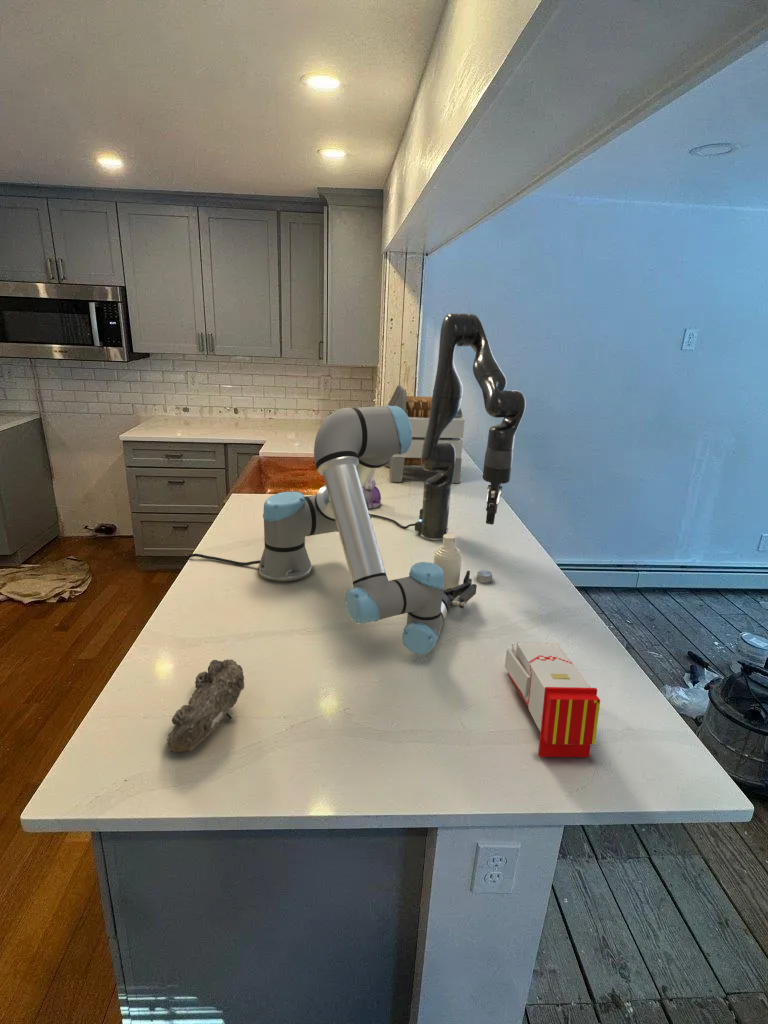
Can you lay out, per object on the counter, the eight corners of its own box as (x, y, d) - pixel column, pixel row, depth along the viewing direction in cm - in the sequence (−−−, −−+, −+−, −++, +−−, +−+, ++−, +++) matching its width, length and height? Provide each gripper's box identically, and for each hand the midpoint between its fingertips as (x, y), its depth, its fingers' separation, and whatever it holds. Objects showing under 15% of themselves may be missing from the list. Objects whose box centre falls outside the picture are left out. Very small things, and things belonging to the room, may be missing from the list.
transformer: (382, 463, 289) (386, 382, 275) (445, 464, 293) (451, 384, 279) (390, 482, 257) (394, 392, 243) (460, 483, 261) (468, 394, 247)
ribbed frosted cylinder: (428, 604, 153) (433, 539, 147) (432, 591, 160) (437, 529, 154) (456, 608, 152) (462, 542, 145) (458, 595, 159) (464, 532, 152)
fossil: (192, 660, 117) (244, 628, 112) (224, 691, 120) (276, 661, 115) (142, 746, 98) (202, 712, 93) (182, 779, 101) (242, 748, 96)
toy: (553, 625, 127) (610, 695, 97) (548, 680, 129) (601, 765, 100) (500, 624, 126) (540, 694, 97) (495, 679, 129) (533, 764, 100)
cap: (494, 583, 167) (495, 575, 166) (480, 584, 166) (481, 577, 165) (487, 576, 171) (488, 569, 170) (474, 577, 170) (474, 570, 169)
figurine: (365, 510, 221) (366, 473, 215) (354, 502, 229) (355, 466, 224) (386, 507, 225) (388, 471, 220) (375, 500, 233) (376, 464, 228)
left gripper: (387, 614, 142) (409, 577, 162) (476, 631, 136) (488, 591, 156) (388, 587, 139) (411, 553, 159) (480, 604, 133) (491, 566, 153)
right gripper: (486, 455, 163) (480, 508, 169) (481, 469, 150) (475, 525, 156) (513, 459, 161) (506, 512, 167) (510, 472, 148) (502, 529, 154)
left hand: (449, 572), depth 158 cm, fingers open, 10 cm apart
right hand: (491, 518), depth 162 cm, fingers open, 8 cm apart
